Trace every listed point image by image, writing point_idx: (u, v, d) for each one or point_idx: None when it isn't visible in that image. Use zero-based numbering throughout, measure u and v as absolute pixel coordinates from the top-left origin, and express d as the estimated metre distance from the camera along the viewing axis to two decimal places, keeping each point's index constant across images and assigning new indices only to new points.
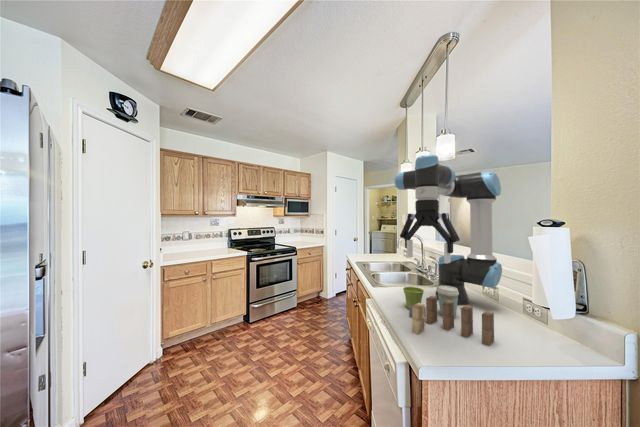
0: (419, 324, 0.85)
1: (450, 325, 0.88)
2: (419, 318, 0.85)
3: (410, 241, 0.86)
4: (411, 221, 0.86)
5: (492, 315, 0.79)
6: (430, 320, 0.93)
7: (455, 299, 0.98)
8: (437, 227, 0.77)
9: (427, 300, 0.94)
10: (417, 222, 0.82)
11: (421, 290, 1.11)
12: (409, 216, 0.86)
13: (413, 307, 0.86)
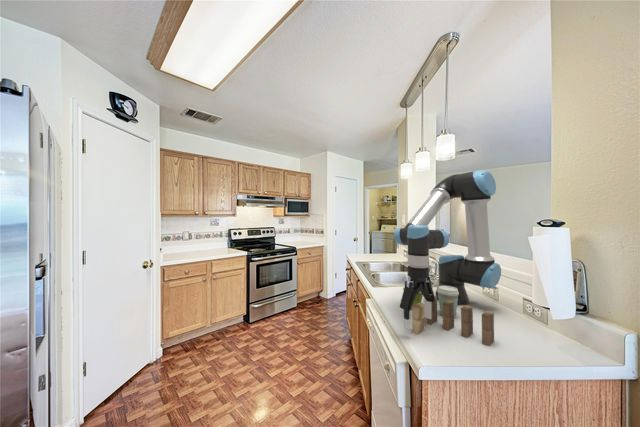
0: (419, 324, 0.85)
1: (450, 325, 0.88)
2: (419, 318, 0.85)
3: (427, 302, 0.91)
4: (426, 284, 0.91)
5: (492, 315, 0.79)
6: (430, 320, 0.93)
7: (455, 299, 0.98)
8: None
9: None
10: None
11: None
12: None
13: (413, 307, 0.86)
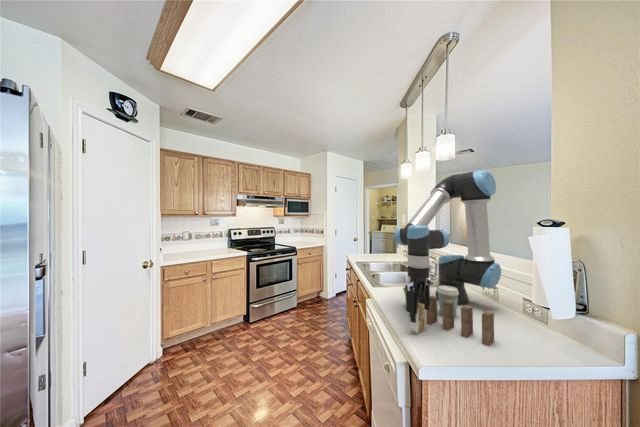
0: (419, 324, 0.85)
1: (450, 325, 0.88)
2: (419, 318, 0.85)
3: None
4: None
5: (492, 315, 0.79)
6: (430, 320, 0.93)
7: (455, 299, 0.98)
8: None
9: None
10: None
11: None
12: None
13: None
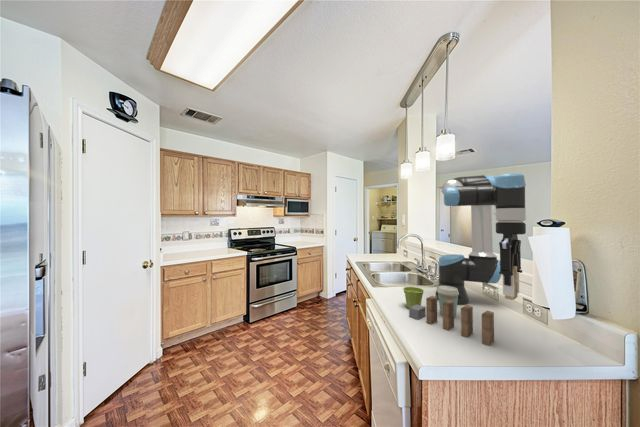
0: (514, 288, 0.73)
1: (450, 325, 0.88)
2: (514, 281, 0.73)
3: None
4: None
5: (492, 315, 0.79)
6: (430, 320, 0.93)
7: (455, 299, 0.98)
8: None
9: (427, 300, 0.94)
10: None
11: (421, 290, 1.11)
12: None
13: None
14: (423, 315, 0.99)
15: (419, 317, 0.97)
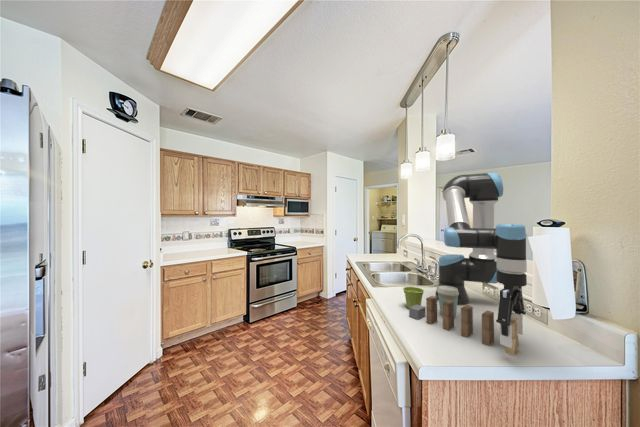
0: (515, 342, 0.73)
1: (450, 325, 0.88)
2: (515, 336, 0.73)
3: (516, 315, 0.78)
4: None
5: (492, 315, 0.79)
6: (430, 320, 0.93)
7: (455, 299, 0.98)
8: None
9: (427, 300, 0.94)
10: None
11: (421, 290, 1.11)
12: None
13: None
14: (423, 315, 0.99)
15: (419, 317, 0.97)
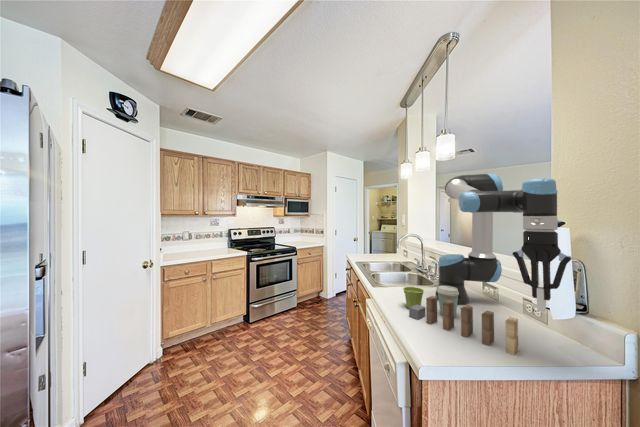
0: (515, 342, 0.73)
1: (450, 325, 0.88)
2: (515, 336, 0.73)
3: None
4: (522, 259, 0.72)
5: (492, 315, 0.79)
6: (430, 320, 0.93)
7: (455, 299, 0.98)
8: (546, 268, 0.67)
9: (427, 300, 0.94)
10: (533, 259, 0.69)
11: (421, 290, 1.11)
12: (516, 254, 0.72)
13: (507, 323, 0.73)
14: (423, 315, 0.99)
15: (419, 317, 0.97)
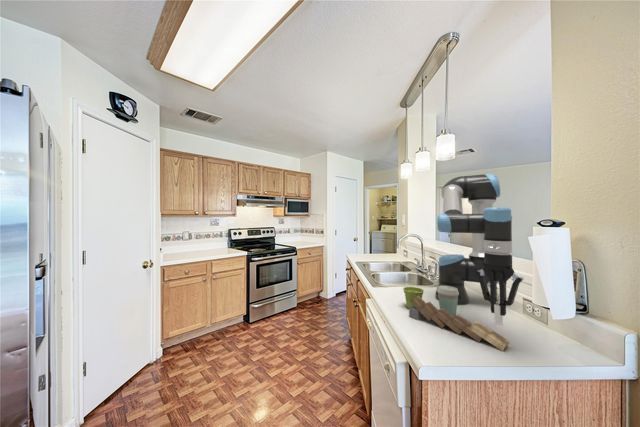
0: (494, 337, 0.77)
1: None
2: (487, 332, 0.79)
3: None
4: (483, 278, 0.81)
5: (458, 316, 0.88)
6: (428, 315, 0.94)
7: (455, 299, 0.98)
8: (502, 287, 0.75)
9: (412, 301, 0.99)
10: (491, 278, 0.77)
11: (421, 290, 1.11)
12: (478, 273, 0.81)
13: (471, 329, 0.81)
14: (423, 315, 0.99)
15: (419, 317, 0.97)
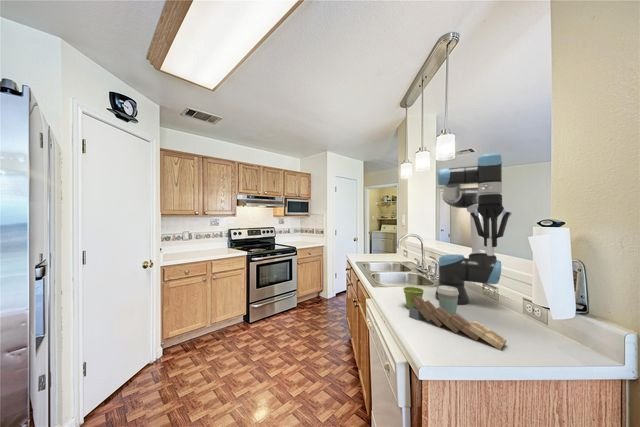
0: (491, 336, 0.78)
1: None
2: (485, 331, 0.79)
3: None
4: (478, 218, 0.93)
5: (456, 315, 0.88)
6: (428, 316, 0.94)
7: (455, 299, 0.98)
8: (493, 222, 0.87)
9: (412, 301, 0.99)
10: (484, 216, 0.89)
11: (421, 290, 1.11)
12: (473, 214, 0.93)
13: (469, 328, 0.82)
14: None
15: (419, 317, 0.97)
